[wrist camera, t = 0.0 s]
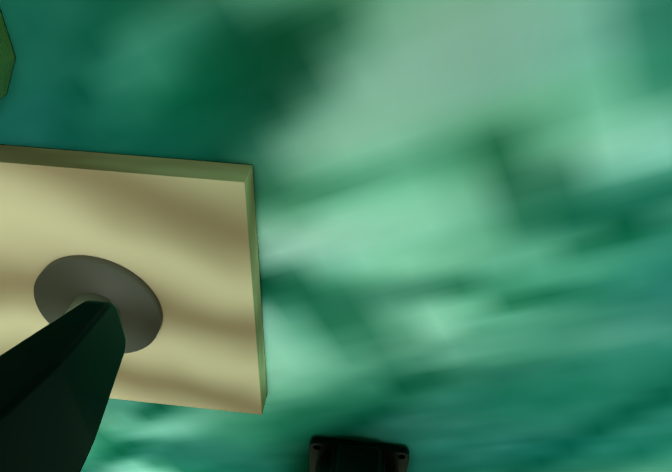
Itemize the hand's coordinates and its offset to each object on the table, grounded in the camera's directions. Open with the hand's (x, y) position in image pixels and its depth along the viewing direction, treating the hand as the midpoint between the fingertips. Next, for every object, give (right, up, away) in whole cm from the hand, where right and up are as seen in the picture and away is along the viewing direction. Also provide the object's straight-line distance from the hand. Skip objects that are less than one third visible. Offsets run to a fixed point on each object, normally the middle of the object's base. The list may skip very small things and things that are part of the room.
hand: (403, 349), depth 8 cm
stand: (-13, -1, +20) cm, 24 cm away
